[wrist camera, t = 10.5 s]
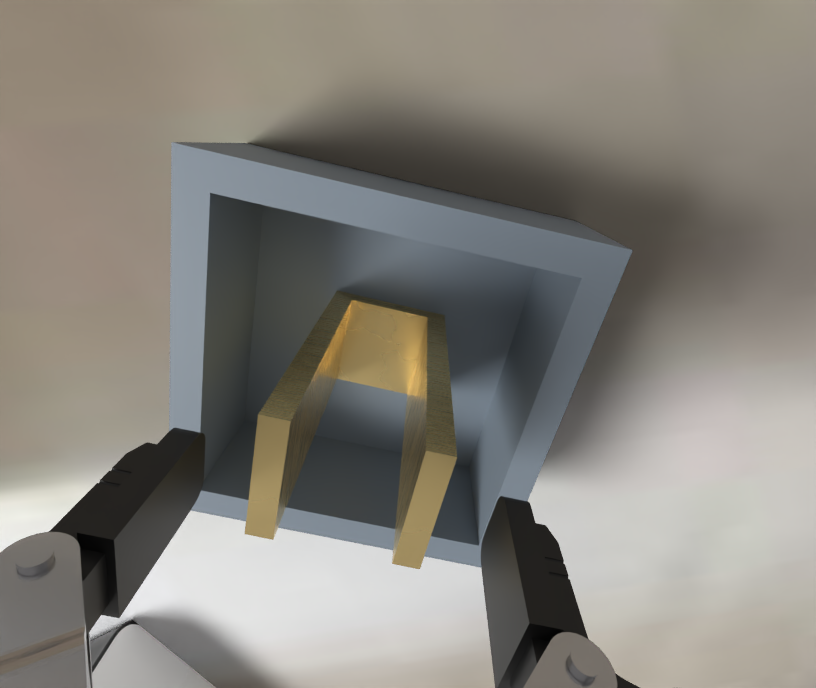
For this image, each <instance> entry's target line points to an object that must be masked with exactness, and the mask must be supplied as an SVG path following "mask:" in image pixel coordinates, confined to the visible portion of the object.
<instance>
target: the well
mask: <svg viewBox="0 0 816 688" xmlns="http://www.w3.org/2000/svg"><path fill="white" fill-rule="evenodd" d="M632 251H633V250H631V249H629V248H627V247H626V246H624V245H622V244H620V243H618V242H616V241H614V240H612V239H610V238H608V237H606V236H604V235H602V234H600V233H598V232H596V231H594V230H592V229H591V228H589V227H587V226H585V225H583V224H581V223H579V222H577V221H573V220H569V219H565V218H561V217H557V216H552V215H548V214H544V213H540V212H535V211H531V210H527V209H523V208H518V207H514V206H510V205H506V204H501V203H497V202H493V201H489V200H484V199H480V198H476V197H472V196H467V195H463V194H459V193H455V192H450V191H446V190H442V189H438V188H434V187H429V186H425V185H421V184H417V183H412V182H408V181H404V180H400V179H395V178H391V177H387V176H383V175H378V174H374V173H370V172H366V171H361V170H357V169H353V168H349V167H344V166H340V165H336V164H332V163H327V162H323V161H319V160H315V159H311V158H306V157H302V156H298V155H294V154H289V153H285V152H281V151H277V150H272V149H268V148H264V147H260V146H255V145H251V144H247V143H187V142H172V162H171V285H170V408H169V431H170V430H171V429H173V428H180V429H185V430H190V431H195V432H200V433H203V434H204V435H205V465H204V481H203V486H202V489H201V492H200V495H199V497H198V499H197V501H196V503H195V504H194V506H193V507H192V509H191V510H192V511H197V512H202V513H207V514H212V515H217V516H222V517H227V518H232V519H237V520H242V521H246V518H247V509H248V500H249V491H250V482H251V473H252V465H253V456H254V447H255V438H256V429H257V420H258V414H259V412H260V411H261V409H262V408H263V406H264V404H265V403H266V401H267V400H268V398H269V397H270V395H271V393H272V392H273V390H274V389H275V387H276V386H277V384H278V383H279V381H280V379H281V378H282V376H283V375H284V373H285V372H286V370H287V368H288V367H289V365H290V364H291V362H292V361H293V359H294V357H295V356H296V354H297V353H298V351H299V350H300V348H301V346H302V345H303V343H304V342H305V340H306V339H307V337H308V335H309V334H310V332H311V331H312V329H313V328H314V326H315V324H316V323H317V321H318V320H319V318H320V317H321V315H322V313H323V312H324V310H325V309H326V307H327V306H328V304H329V302H330V301H331V299H332V298H333V296H334V295H335V293H336V291H337V290H338V291H342V292H346V293H351V294H355V295H359V296H364V297H368V298H372V299H377V300H381V301H385V302H389V303H394V304H398V305H402V306H407V307H411V308H415V309H420V310H424V311H428V312H433V313H437V314H441V315H445V326H446V338H447V349H448V360H449V371H450V382H451V393H452V405H453V416H454V427H455V438H456V449H457V460H456V463H455V466H454V469H453V472H452V475H451V477H450V480H449V483H448V486H447V489H446V492H445V495H444V498H443V501H442V504H441V507H440V510H439V513H438V516H437V519H436V522H435V525H434V528H433V531H432V534H431V537H430V540H429V543H428V546H427V549H426V552H425V555H424V556H426V557H431V558H436V559H441V560H446V561H451V562H456V563H461V564H466V565H471V566H476V567H481V546H482V540H483V537H484V534H485V531H486V529H487V526H488V523H489V521H490V518H491V516H492V513H493V511H494V508H495V505H496V503H497V500H498V499H499V497H500V496H504V497H509V498H513V499H518V500H523V501H528V498H529V496H530V493H531V491H532V489H533V486H534V484H535V482H536V479H537V477H538V474H539V472H540V470H541V467H542V465H543V462H544V460H545V458H546V455H547V453H548V451H549V448H550V446H551V443H552V441H553V439H554V436H555V434H556V432H557V429H558V427H559V424H560V422H561V420H562V417H563V415H564V413H565V410H566V408H567V405H568V403H569V401H570V398H571V396H572V394H573V391H574V389H575V386H576V384H577V382H578V379H579V377H580V375H581V372H582V370H583V367H584V365H585V363H586V360H587V358H588V356H589V353H590V351H591V348H592V346H593V344H594V341H595V339H596V337H597V334H598V332H599V329H600V327H601V325H602V322H603V320H604V318H605V315H606V313H607V310H608V308H609V306H610V303H611V301H612V299H613V296H614V294H615V291H616V289H617V287H618V284H619V282H620V279H621V277H622V275H623V272H624V270H625V268H626V265H627V263H628V260H629V258H630V256H631V253H632ZM406 403H407V394H404V393H399V392H395V391H390V390H386V389H381V388H377V387H372V386H368V385H363V384H359V383H354V382H350V381H345V380H341V379H337V380H336V382H335V385H334V387H333V390H332V393H331V395H330V398H329V400H328V403H327V405H326V408H325V410H324V413H323V415H322V418H321V420H320V423H319V425H318V428H317V430H316V433H315V435H314V438H313V440H312V443H311V446H310V448H309V451H308V453H307V456H306V458H305V461H304V463H303V466H302V468H301V471H300V473H299V476H298V478H297V481H296V483H295V486H294V488H293V491H292V493H291V496H290V499H289V501H288V504H287V506H286V509H285V511H284V514H283V516H282V519H281V521H280V524H279V526H278V528H283V529H288V530H293V531H298V532H304V533H309V534H314V535H319V536H324V537H329V538H334V539H339V540H344V541H349V542H354V543H359V544H365V545H370V546H375V547H380V548H385V549H390V550H393V549H394V538H395V526H396V515H397V504H398V493H399V481H400V470H401V459H402V448H403V436H404V425H405V414H406Z"/></svg>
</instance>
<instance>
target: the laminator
mask: <svg viewBox="0 0 816 688" xmlns="http://www.w3.org/2000/svg"><path fill="white" fill-rule="evenodd" d="M90 651H91V666H92V681H93V688H216V687H215V686H214V685H212V684H211V683H210V682H209V681H207V680H206V679H205V678H204V677H202V676H201V675H200V674H199V673H198V672H196V671H195V670H194V669H193V668H191V667H190V666H189V665H188V664H186V663H185V662H184V661H183V660H182V659H180V658H179V657H178V656H177V655H175V654H174V653H173V652H172V651H170V650H169V649H168V648H167V647H166V646H164V645H163V644H162V643H161V642H159V641H158V640H157V639H156V638H154V637H153V636H152V635H151V634H150V633H148V632H147V631H146V630H145V629H143V628H142V627H141V626H140V625H138V624H137V623H136V622H135V621H128V622H125V623H124V624H122V625H121V626H120V627H119V628H117V629H115V630H113V631H110V632H108V633H106V634H104V635H102V636H100V637H98V638H96V639H94V640H91V641H90Z"/></svg>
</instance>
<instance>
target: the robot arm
mask: <svg viewBox="0 0 816 688" xmlns="http://www.w3.org/2000/svg"><path fill="white" fill-rule="evenodd" d="M204 465H205V435H204V434H203V433H200V432H195V431H190V430H185V429H180V428H173V429H171V430H170V431H169V432H168V433H167V434H166V436H165V437H164V438H163V439H162V440H161V441H160V442H159V443H158V444H152V443H145V444H143V445H142V446H140V447H138V448H136V449H134V450H132V451H130V452H128V453H127V454H126V455H125V456H124V457H123V458H122V459H121V460H120V461H119V462H118V463H117V464H116V465H115V466H114V467H113V468H112V470H111V471H109V472H108V473H107V474H106V475H105V476H104V477H103V478H102V479H101V480H100V483H99V484H98V483H97V484H96V485H95V486H94V487H93V488H92V489H91V490H90V491H89V492H88V493H87V494H86V495H85V496H84V497H83V498H82V499H81V500H80V501H79V502H78V503H77V504H76V505H75V506H74V507H73V508H72V509H71V510H70V511H69V512H68V513H67V514H66V515H65V516H64V517H63V518H62V519H61V520H60V521H59V522H58V523H57V524H56V525H55V526H54V527H53V528H52V529H51V530H50V531H49V532H45V533H39V534H35V535H32V536H28V537H26V538H23V539H21V540H19V541H17V542H15V543H13V544H12V545H10V546H8V547H7V548H6V549H4V550H3V551H2V552H1V553H0V688H93V681H92V666H91V651H90V636H89V631H90V630H91V629H92V627H93V626H94V624H95V623H96V621H97V620H98V619H99V617H100V616H101V615H106V616H111V617H116V618H120V616H121V615H122V613H123V612H124V610H125V609H126V607H127V606H128V604H129V603H130V601H131V599H132V598H133V596H134V595H135V593H136V592H137V590H138V589H139V587H140V586H141V584H142V583H143V581H144V580H145V578H146V577H147V575H148V574H149V572H150V571H151V569H152V568H153V566H154V565H155V563H156V562H157V560H158V559H159V557H160V556H161V554H162V553H163V551H164V550H165V548H166V547H167V545H168V544H169V542H170V540H171V539H172V537H173V536H174V534H175V533H176V531H177V530H178V528H179V527H180V525H181V524H182V522H183V521H184V519H185V518H186V516H187V515H188V513H189V512H190V510H191V509H192V507H193V506H194V504H195V503H196V501H197V499H198V497H199V495H200V492H201V489H202V486H203V481H204ZM563 561H564V560H563V557H562V554H561V551H560V547H559V544H558V542H557V541H556V539H555V538H554V536H553V535H552V534H551V532H550V531H549V529H548V528H547V527H546V525H541V524H536V523H535V520H534V517H533V513H532V509H531V506H530V503H529V502H527V501H523V500H518V499H513V498H509V497H504V496H500V497H499V499H498V500H497V503H496V505H495V508H494V511H493V513H492V516H491V518H490V521H489V523H488V526H487V529H486V531H485V534H484V537H483V540H482V546H481V567H482V576H483V585H484V593H485V602H486V611H487V620H488V628H489V637H490V646H491V654H492V663H493V672H494V681H495V688H639V687H638V686H636V685H634V684H632V683H630V682H628V681H626V680H624V679H623V678H621V677H620V676H618V675H617V674H616V673H615V671H614V669H613V667H612V665H611V663H610V661H609V660H608V658H607V657H606V655H605V654H604V653H603V652H602V651H601V650H600V648H599V647H597V646H596V645H595V644H594V643H593V642H591V641H590V640H589V639H588V637H587V634H586V630H585V627H584V624H583V621H582V618H581V614H580V611H579V608H578V605H577V602H576V598H575V595H574V592H573V589H572V586H571V582H570V579H568V573H567V570H566V567H565V564H563Z"/></svg>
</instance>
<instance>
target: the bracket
mask: <svg viewBox="0 0 816 688" xmlns="http://www.w3.org/2000/svg"><path fill="white" fill-rule="evenodd" d="M337 379H341V380H345V381H350V382H354V383H359V384H363V385H368V386H372V387H377V388H381V389H386V390H390V391H395V392H399V393H404V394H407V403H406V414H405V425H404V436H403V448H402V459H401V470H400V481H399V493H398V504H397V515H396V526H395V538H394V549H393V560H392V564H396V565H401V566H406V567H411V568H416V569H420V567H421V564H422V561H423V558H424V555H425V552H426V549H427V546H428V543H429V540H430V537H431V534H432V531H433V528H434V525H435V522H436V519H437V516H438V513H439V510H440V507H441V504H442V501H443V498H444V495H445V492H446V489H447V486H448V483H449V480H450V477H451V475H452V472H453V469H454V466H455V463H456V460H457V449H456V438H455V427H454V416H453V405H452V393H451V382H450V371H449V360H448V349H447V338H446V326H445V315H441V314H437V313H433V312H428V311H424V310H420V309H415V308H411V307H407V306H402V305H398V304H394V303H389V302H385V301H381V300H377V299H372V298H368V297H364V296H359V295H355V294H351V293H346V292H342V291H338V290H337V291H336V293H335V295H334V296H333V298H332V299H331V301H330V302H329V304H328V306H327V307H326V309H325V310H324V312H323V313H322V315H321V317H320V318H319V320H318V321H317V323H316V324H315V326H314V328H313V329H312V331H311V332H310V334H309V335H308V337H307V339H306V340H305V342H304V343H303V345H302V346H301V348H300V350H299V351H298V353H297V354H296V356H295V357H294V359H293V361H292V362H291V364H290V365H289V367H288V368H287V370H286V372H285V373H284V375H283V376H282V378H281V379H280V381H279V383H278V384H277V386H276V387H275V389H274V390H273V392H272V393H271V395H270V397H269V398H268V400H267V401H266V403H265V404H264V406H263V408H262V409H261V411H260V412H259V414H258V420H257V429H256V438H255V447H254V456H253V465H252V473H251V482H250V491H249V500H248V509H247V518H246V527H245V534H248V535H253V536H258V537H263V538H268V539H274V536H275V534H276V531H277V529H278V526H279V524H280V521H281V519H282V516H283V514H284V511H285V509H286V506H287V504H288V501H289V499H290V496H291V493H292V491H293V488H294V486H295V483H296V481H297V478H298V476H299V473H300V471H301V468H302V466H303V463H304V461H305V458H306V456H307V453H308V451H309V448H310V446H311V443H312V440H313V438H314V435H315V433H316V430H317V428H318V425H319V423H320V420H321V418H322V415H323V413H324V410H325V408H326V405H327V403H328V400H329V398H330V395H331V393H332V390H333V387H334V385H335V382H336V380H337Z"/></svg>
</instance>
